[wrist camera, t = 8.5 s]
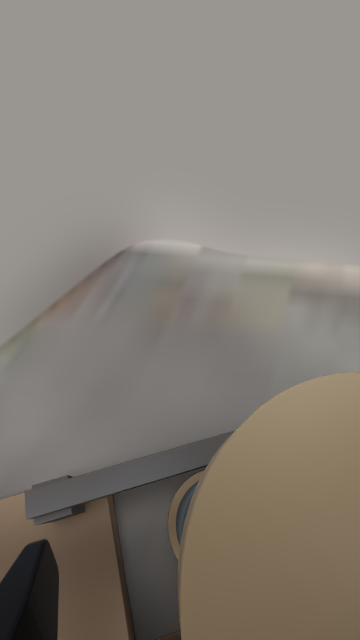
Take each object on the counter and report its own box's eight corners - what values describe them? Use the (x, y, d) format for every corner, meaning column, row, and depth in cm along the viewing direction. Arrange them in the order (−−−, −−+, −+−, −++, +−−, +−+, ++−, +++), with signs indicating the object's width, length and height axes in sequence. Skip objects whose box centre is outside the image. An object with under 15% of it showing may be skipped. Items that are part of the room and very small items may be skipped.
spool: (280, 543, 14) (841, 743, 2) (198, 605, 13) (498, 1521, 1) (228, 453, 15) (409, 315, 4) (151, 501, 14) (99, 501, 3)
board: (500, 654, 12) (649, 722, 9) (-9, 897, 9) (-125, 1164, 6) (361, 398, 17) (417, 369, 13) (-10, 507, 14) (-74, 509, 10)
